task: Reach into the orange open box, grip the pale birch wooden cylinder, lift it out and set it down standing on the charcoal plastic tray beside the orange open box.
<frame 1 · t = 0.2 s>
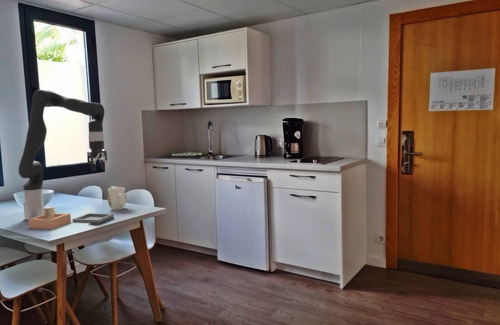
hand: (98, 169, 204), 29 cm above the table, tool pointing down, fingers open, 8 cm apart
orange open box: (50, 226, 199), on the table
pitcher: (118, 209, 237), on the table
tray: (93, 220, 209), on the table
cylinder: (50, 224, 199), point 1 cm above the table, touching orange open box
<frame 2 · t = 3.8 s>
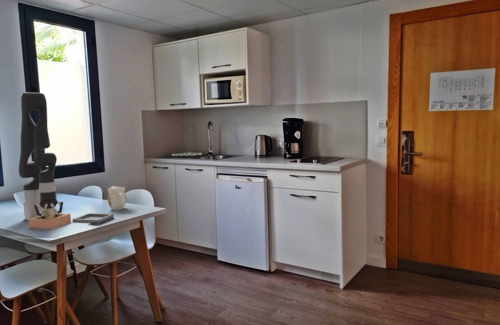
hand: (50, 222, 199), 2 cm above the table, tool pointing down, fingers closed on cylinder, 5 cm apart
cylinder: (50, 224, 199), point 1 cm above the table, touching gripper, orange open box
everything else where it was.
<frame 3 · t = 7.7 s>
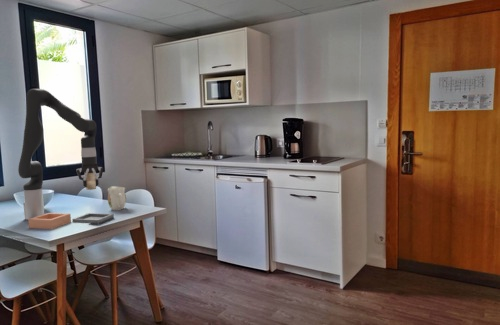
hand: (91, 186, 207), 19 cm above the table, tool pointing down, fingers closed on cylinder, 5 cm apart
cylinder: (91, 189, 207), point 18 cm above the table, touching gripper
everything else where it was.
when the fingers open (4 cm above the table, at t = 11.5 s): cylinder drops 1 cm, resting on tray.
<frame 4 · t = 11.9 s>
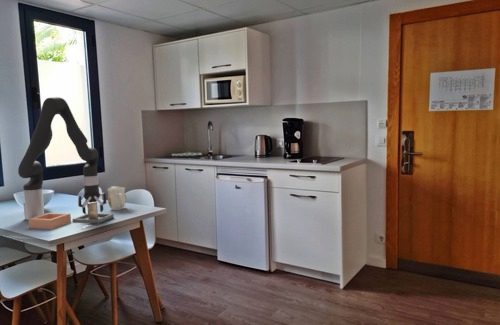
hand: (93, 212, 208), 5 cm above the table, tool pointing down, fingers open, 8 cm apart
cylinder: (93, 219, 209), point 1 cm above the table, touching tray
everything else where it was.
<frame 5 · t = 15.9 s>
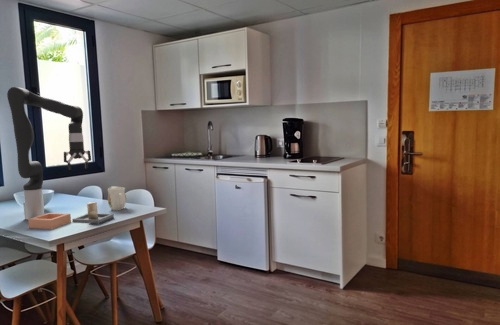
hand: (78, 168, 217), 28 cm above the table, tool pointing down, fingers open, 8 cm apart
nothing on the table moved.
at the end: cylinder inside the target area on the tray (0.1 cm from its centre), point 1.1 cm above the tray's base; cylinder tilted 2°; the gripper is holding nothing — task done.
